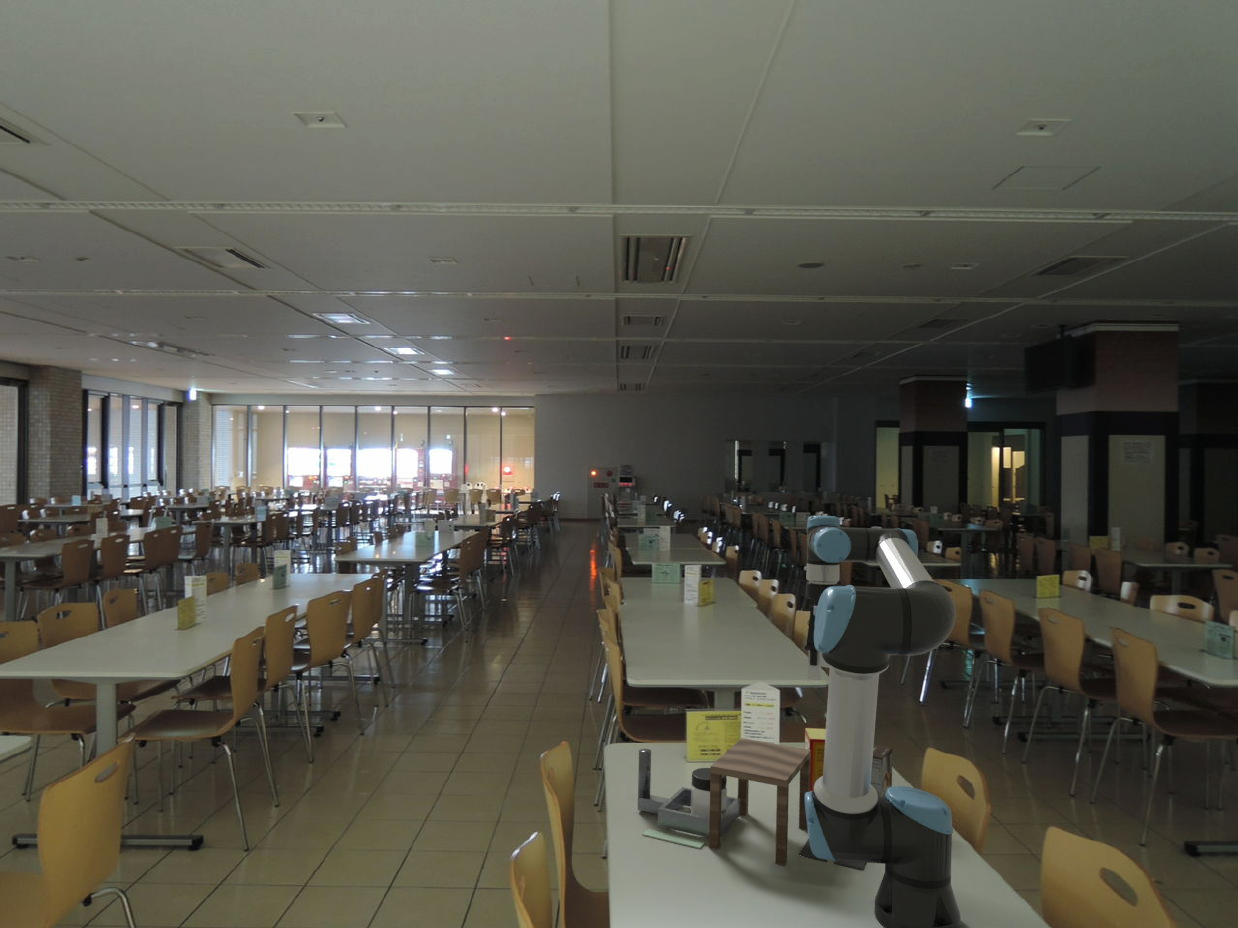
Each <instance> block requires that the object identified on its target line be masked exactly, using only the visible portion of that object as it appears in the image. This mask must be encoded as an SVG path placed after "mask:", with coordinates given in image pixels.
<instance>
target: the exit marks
mask: <svg viewBox="0 0 1238 928" xmlns="http://www.w3.org/2000/svg"><path fill="white" fill-rule="evenodd" d="M641 835H642V836H643V837H647V838H653V839H657V840H660V841H664V842H665V841H666V842H668V843H673V844H678V845H681V846H686V847H690V848H694V849H698V850H701V849H702V848H703V846H705V844H706V842H705V841H701V840H696V839H692V838H688V837H684V836H681V835H675V834H671V833H666V832H663V831H658V830H653V829H649V828H647V829H646V830H645V831H644V832H643V833H641Z"/></svg>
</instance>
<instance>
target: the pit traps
mask: <svg viewBox="0 0 1238 928" xmlns="http://www.w3.org/2000/svg"><path fill="white" fill-rule="evenodd" d="M799 855H801V856H800V857H802V856H804V857H803V858H807V857H808V858H807V859H811V858H812V860H817V861H819V862H820V861H821V862H825V863H827V862H828V860H827V859H820V858H817V857H816V856H815V855H814V854H813V853H812V851H811V847H810V841H809V838H807V841H806V842H805V844H804V845H803V847H802V849H801V850H800V852H799V853H798V856H799ZM833 864H834V865H837V866H842V867H847V868H852V869H856V870H860V871H863V870H864V868H865V865H866V864H867V862H852V861H838V860H837V861H836V862H835V861H833Z"/></svg>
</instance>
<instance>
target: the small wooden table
mask: <svg viewBox="0 0 1238 928" xmlns="http://www.w3.org/2000/svg"><path fill="white" fill-rule="evenodd" d="M710 768H711V772H710V820H709V838H708V848H709V849H711V850H719V849H720V848H721V847H722V846H721V844H722V843H721V841H722V837H721V800H722V775H724V776H726V777H730V778H735V779H737V782H738V783H737V798H738V799H740V816H741V817H746V816H747V815H749V790H750V789H749V788H750V787H749V785H750V783H749V781H751V782H756V783H761V784H766V785H773V786H776V814H775V815H776V818H775V819H776V823H775V824H776V825H775V826H776V827H775V862H774V863H775V864H776V865H781V866H786V865H787V863H788V844H789V843H788V841H789V839H788V837H789V833H788V832H789V797H790V796H789V794H790V793H789V791H790V789H789V788H790V784H791V782H792V781H793V780H794V779H795V777H796V776H797V774H798V773H799V802H798V803H799V805H798V806H799V808H798V809H799V812H798V813H799V815H798V829H802V830H807V831H808V827H807V819H806V810H805V799H804V797H805V793H806V792H810V774H811V750H808V749H805V748H801V747H796V746H790V745H783V744H778V743H772V742H766V741H759V740H754V739H748V738H744V737H742V738H740V739H739V740H738V741H737V742H736V743H735V744H733V745H732V746H731V747H730V748H729V749H728V750H726V751H725V752H724V753H723V754H722V755H721V756H720V757H719V758H718V759H717V760H716V761H715V762H713V763H712V764H711V765H710ZM740 816H739V817H740Z"/></svg>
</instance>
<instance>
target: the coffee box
mask: <svg viewBox="0 0 1238 928" xmlns="http://www.w3.org/2000/svg"><path fill="white" fill-rule="evenodd" d="M870 784H871V785H872V786H873V787H874V788H875V790H876V792H877V795H878V796H880V797H886V796H885V793H886V792H887V789H888V788H890V787H893V747H890V746H885V745H884V746H883V745H877V744H874V745H873V758H872V771H871V783H870Z"/></svg>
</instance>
